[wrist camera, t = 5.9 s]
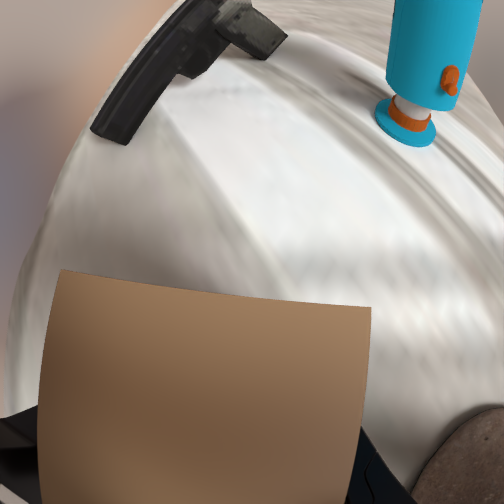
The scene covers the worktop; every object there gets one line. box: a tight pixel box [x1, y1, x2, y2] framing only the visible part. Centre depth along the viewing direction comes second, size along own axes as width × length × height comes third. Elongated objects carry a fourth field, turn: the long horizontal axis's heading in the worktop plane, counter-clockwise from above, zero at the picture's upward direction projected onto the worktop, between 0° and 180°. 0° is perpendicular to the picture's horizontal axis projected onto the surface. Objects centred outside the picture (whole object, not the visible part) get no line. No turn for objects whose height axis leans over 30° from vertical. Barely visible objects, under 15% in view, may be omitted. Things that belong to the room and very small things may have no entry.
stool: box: [37, 269, 371, 504], centre depth 9 cm, size 6×6×12 cm
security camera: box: [375, 0, 483, 147], centre depth 17 cm, size 8×21×10 cm
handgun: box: [90, 0, 288, 146], centre depth 28 cm, size 2×24×15 cm, turn 133°
